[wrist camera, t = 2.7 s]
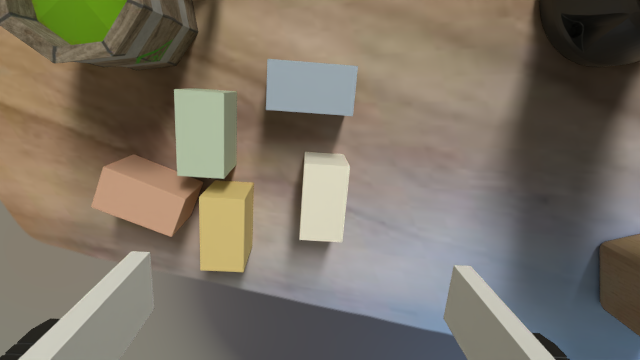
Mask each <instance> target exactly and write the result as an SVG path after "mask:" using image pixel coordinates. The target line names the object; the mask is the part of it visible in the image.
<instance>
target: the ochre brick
mask: <svg viewBox="0 0 640 360" xmlns="http://www.w3.org/2000/svg"><path fill="white" fill-rule="evenodd" d="M253 193H254V183H249V182H233V181H217V180H215V181H214V182H213V183H212V184H211V185H210V186H209V187H208V188H207V189H206V190H205V191H204V192H203V193H202V194H201V195H200V196H199V219H200V269H201V270H208V271H229V272H244V269H245V266H246V263H247V260H248V257H249V254H250V251H251V248H252V234H253Z"/></svg>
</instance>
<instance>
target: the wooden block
mask: <svg viewBox="0 0 640 360" xmlns="http://www.w3.org/2000/svg"><path fill="white" fill-rule="evenodd" d="M600 303H601V305H602V307H603V308H604V310H606V311H607V312H608V313H610V314H611V315H612V316H614V317H615V318H616V319H618V320H619V321H620V322H622V323H623V324H624V325H626V326H627V327H628V328H629V329H631V330H632V331H633V332H635V333H636V334H637V335H639V336H640V234H637V235H632V236H628V237H623V238H619V239H614V240H610V241H605V242H604V243H602V244H601V246H600Z"/></svg>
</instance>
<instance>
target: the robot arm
mask: <svg viewBox="0 0 640 360" xmlns="http://www.w3.org/2000/svg"><path fill="white" fill-rule="evenodd" d="M540 14H541V20H542V24H543V27H544V30H545V32H546V34H547V36H548V38H549V40H550V42H551V43H552V45H553V46H554V47H555V48H556V49H557V50H558V51H559V52H560V53H561V54H562V55H563V56H564V57H566V58H568V59H569V60H571V61H573V62H575V63H578V64H581V65H585V66H592V67H603V66H618V65H625V64H629V63H633V62H637V61H640V0H540ZM153 309H154V301H153V289H152V272H151V258H150V252H135V251H131V252H130V253H129V254H128V255H127V256H126V257H125V258H124V259H123V260H122V261H121V262H120V263H119V264H118V265H117V266H116V267H114V268H113V269H112V270H111V271H110V272H109V273H108V274H107V275H106V276H105V277H104V278H103V279H102V280H101V281H100V282H99V283H98V284H97V285H96V286H95V287H94V288H93V289H91V291H90V292H88V293H87V294H86V295H85V296H84V297H83V298H82V299H81V300H80V301H79V302H78V303H77V304H76V305H75V306H74V307H73V308H72V309H71V310H70V311H69V312H67V313H66V314H65V315H64V316H63V317H62V318H61V319H49V320H47V321H45V322H44V323H42V324H40V325H38V326H37V327H35V328H33V329H31V330H30V331H29V332H28V333H27V334H26V335H25V336H24V337H22V338H21V339H20V340H19V341H18V342H17V344H16V345H14V346H12V347H11V348H10V349H9V350H8V351H7V352H6V354H5V355H2V356H1V357H0V360H119V359H120V358H121V357H122V355H123V354H124V352H125V351H126V349H127V348H128V346H129V344H130V343H131V342H132V340H133V339H134V337H135V336H136V334H137V333H138V331H139V330H140V328H141V327H142V326H143V324H144V322H145V321H146V319H147V318H148V317H149V315H150V314H151V312H152V310H153ZM444 320H445V322H446V323H447V325H448V327H449V329H450V330H451V332H452V334H453V335H454V337H455V339H456V341H457V342H458V344H459V346H460V347H461V349H462V351H463V352H464V354H465V356H466V357H467V359H468V360H570V359H567V356H566V355H565V354H564V353H563V352H562V351H561V350H560V349H559V348H558V347H557V346H556V345H555V344H554V343H553V342H551V341H550V340H548V339H547V338H545V337H544V336H542V335H541V334H540V333H531V332H530V331H529V330H528V329H527V328H526V327H525V325H524V324H523V323H522V322H521V321H520V320H519V319H518V318H517V317H516V316H515V314H514V313H513V312H512V311H511V310H510V309H509V308H508V307H507V306H506V304H505V303H504V302H503V301H502V300H501V299H500V298H499V297H498V296H497V295H496V293H495V292H494V291H493V290H492V289H491V288H490V287H489V286H488V285H487V284H486V282H485V281H484V280H483V279H482V278H481V277H480V276H479V275H478V274H477V272H476V271H475V270H474V269H473V268H472V267H471V266H459V265H454V267H453V272H452V277H451V282H450V288H449V293H448V298H447V303H446V308H445V313H444Z"/></svg>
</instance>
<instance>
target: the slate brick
mask: <svg viewBox="0 0 640 360" xmlns="http://www.w3.org/2000/svg"><path fill="white" fill-rule="evenodd" d="M357 69H358V66H349V65H337V64H325V63H312V62H300V61H287V60H275V59H268V63H267V95H266V110H276V111H290V112H304V113H318V114H331V115H345V116H353V110H354V100H355V89H356V79H357Z"/></svg>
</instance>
